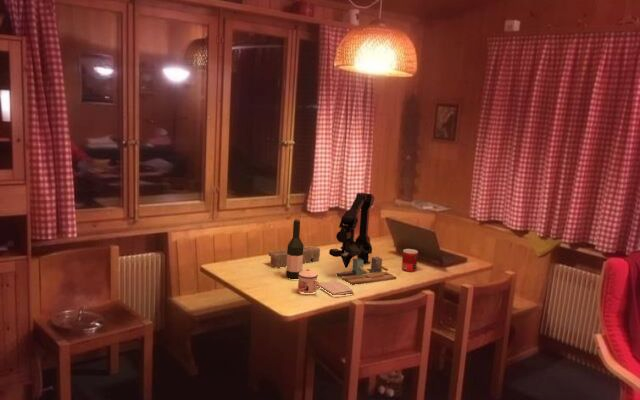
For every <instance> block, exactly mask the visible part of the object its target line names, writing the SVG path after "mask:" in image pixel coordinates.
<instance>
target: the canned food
mask: <svg viewBox="0 0 640 400" xmlns="http://www.w3.org/2000/svg"><path fill="white" fill-rule="evenodd" d="M418 256H419V251H418V250H417V249H412V248H405V249H403V250H402V260H401V270H402V271H403V272H406V273H415V272H416V271H417V267H418Z"/></svg>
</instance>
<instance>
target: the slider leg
mask: <svg viewBox="0 0 640 400" xmlns="http://www.w3.org/2000/svg"><path fill="white" fill-rule="evenodd" d="M363 263H364V260H362V259H360V258H352V268H351V271H355V272H356V275H355V276H357V275H364V274H363V271H364V272H366V273H368V274H370V273H369V271H368V270H366V268H365V267H364V264H363Z"/></svg>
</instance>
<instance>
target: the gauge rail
mask: <svg viewBox="0 0 640 400" xmlns="http://www.w3.org/2000/svg"><path fill="white" fill-rule="evenodd" d="M365 269H366V268H365ZM366 270H368V271H369V273H366V272H364V271H363V274H362V275H364V274H372V273H380V272H383V271H384V272H388V271H389V268H387V267H385V266H383V258H381V257H379V256H373V257H371V262H370V268H367V269H366ZM382 270H383V271H382ZM335 274H336V275H337V276H338V277H337V276H336V275H335V276H336V277H337V278H343V277H342V276H344V277H349V276H357V275H356V272H355V271H352V270H351V271H350V270H349V271H343V272H336V273H335Z"/></svg>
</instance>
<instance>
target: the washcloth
mask: <svg viewBox="0 0 640 400" xmlns="http://www.w3.org/2000/svg"><path fill="white" fill-rule="evenodd" d="M319 282H320V281H319ZM317 286H318V284H317ZM320 287H321V288H323V289H324V290H326V291H327V292H329V293H331V294H332V295H346V294H353V295H354V291H353V289H352V288H351V287H350V286H349V285H348V284H345V283H343V282H341V281H339V280H338V279H331V280H329V281H322V282H320Z"/></svg>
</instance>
